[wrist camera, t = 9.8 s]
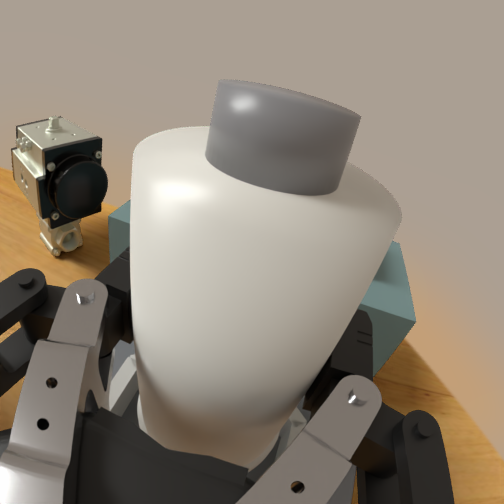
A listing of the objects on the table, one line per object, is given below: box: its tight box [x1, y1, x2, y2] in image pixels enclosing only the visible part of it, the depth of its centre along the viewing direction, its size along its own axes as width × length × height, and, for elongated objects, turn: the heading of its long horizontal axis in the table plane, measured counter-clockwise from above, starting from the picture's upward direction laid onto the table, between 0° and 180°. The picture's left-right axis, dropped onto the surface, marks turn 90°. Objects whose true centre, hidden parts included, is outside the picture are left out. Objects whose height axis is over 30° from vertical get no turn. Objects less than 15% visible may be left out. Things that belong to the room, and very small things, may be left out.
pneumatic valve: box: [11, 116, 108, 256], centre depth 23 cm, size 6×12×12 cm, turn 53°
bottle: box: [130, 80, 402, 472], centre depth 9 cm, size 6×6×12 cm
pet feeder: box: [108, 200, 416, 504], centre depth 15 cm, size 19×19×12 cm
